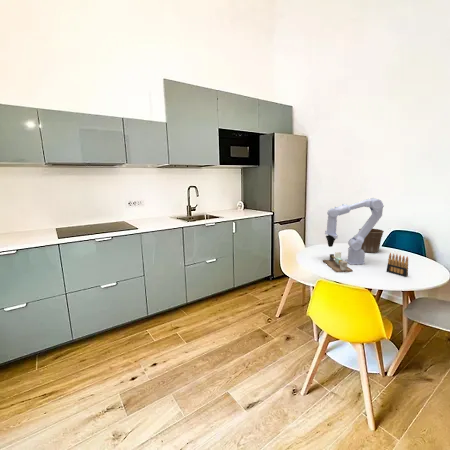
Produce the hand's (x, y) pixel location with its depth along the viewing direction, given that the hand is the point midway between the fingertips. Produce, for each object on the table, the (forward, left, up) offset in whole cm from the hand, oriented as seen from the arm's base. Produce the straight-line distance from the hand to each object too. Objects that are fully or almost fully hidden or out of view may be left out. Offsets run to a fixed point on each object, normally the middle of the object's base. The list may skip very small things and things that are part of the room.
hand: (330, 246), depth 174 cm
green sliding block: (0, +12, -7) cm, 14 cm away
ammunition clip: (-28, +26, -11) cm, 40 cm away
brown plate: (0, +10, -10) cm, 15 cm away
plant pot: (-39, -20, -11) cm, 45 cm away
